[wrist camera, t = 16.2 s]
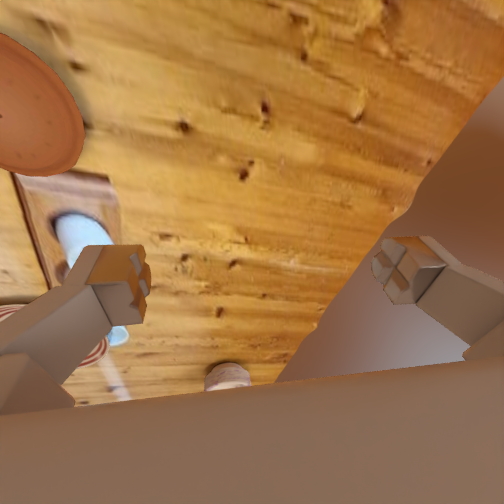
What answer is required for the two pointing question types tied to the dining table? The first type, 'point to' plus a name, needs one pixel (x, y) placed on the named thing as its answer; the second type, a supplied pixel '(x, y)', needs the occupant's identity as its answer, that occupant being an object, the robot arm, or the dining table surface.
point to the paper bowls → (226, 377)
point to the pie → (35, 115)
